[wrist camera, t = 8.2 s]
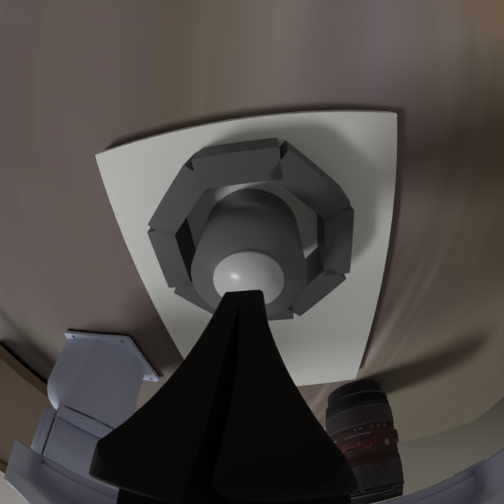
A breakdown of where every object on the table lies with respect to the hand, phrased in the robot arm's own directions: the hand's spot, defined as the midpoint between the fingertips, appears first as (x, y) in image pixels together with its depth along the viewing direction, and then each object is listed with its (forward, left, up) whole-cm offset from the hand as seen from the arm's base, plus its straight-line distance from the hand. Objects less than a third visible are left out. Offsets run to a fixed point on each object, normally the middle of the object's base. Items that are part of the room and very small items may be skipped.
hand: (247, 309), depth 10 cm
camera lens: (+9, -24, -7) cm, 27 cm away
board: (0, -6, -7) cm, 9 cm away
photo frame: (-51, -29, -7) cm, 59 cm away
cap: (0, 0, -6) cm, 6 cm away
